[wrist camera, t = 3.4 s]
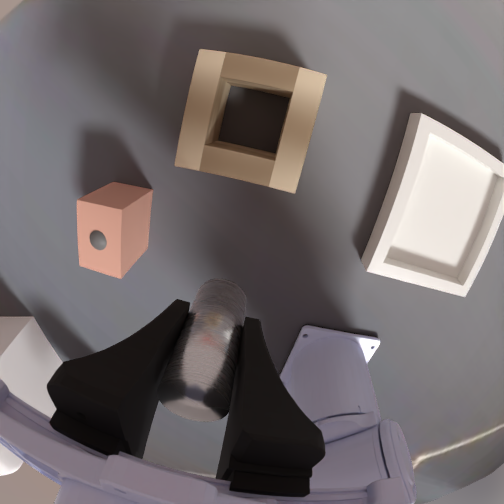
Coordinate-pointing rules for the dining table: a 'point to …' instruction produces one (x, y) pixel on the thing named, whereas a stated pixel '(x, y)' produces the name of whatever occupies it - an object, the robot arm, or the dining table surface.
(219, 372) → the cylinder
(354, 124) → the dining table surface
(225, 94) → the bored block
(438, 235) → the tray
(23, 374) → the milk
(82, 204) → the block
